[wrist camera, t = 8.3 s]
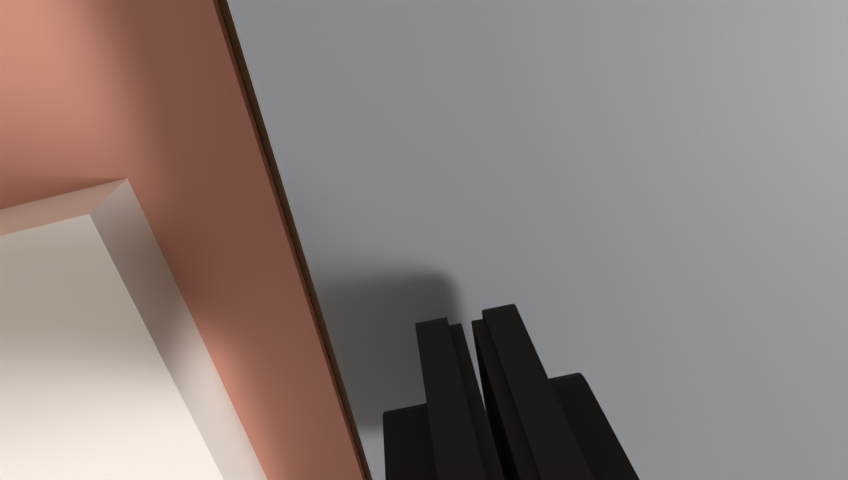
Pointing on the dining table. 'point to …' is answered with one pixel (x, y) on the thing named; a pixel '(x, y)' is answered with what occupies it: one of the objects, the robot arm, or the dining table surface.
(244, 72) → the dining table surface
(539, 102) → the grey block
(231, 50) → the terracotta mat
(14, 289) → the cream block
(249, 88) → the dining table surface
